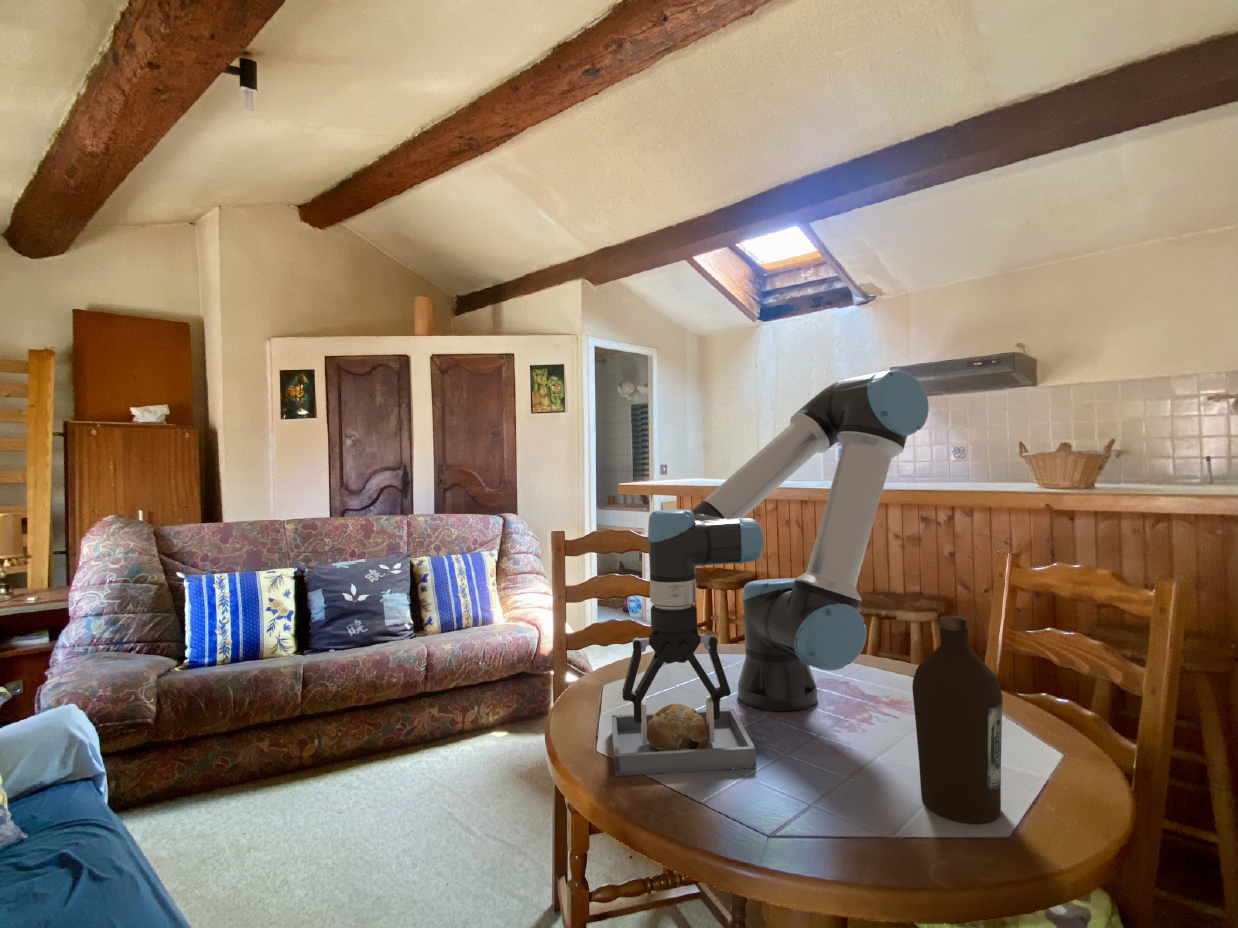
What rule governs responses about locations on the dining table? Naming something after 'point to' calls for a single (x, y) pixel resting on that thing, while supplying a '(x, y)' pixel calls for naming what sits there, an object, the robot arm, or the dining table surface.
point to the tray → (721, 754)
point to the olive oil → (958, 729)
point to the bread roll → (677, 729)
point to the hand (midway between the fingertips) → (677, 740)
